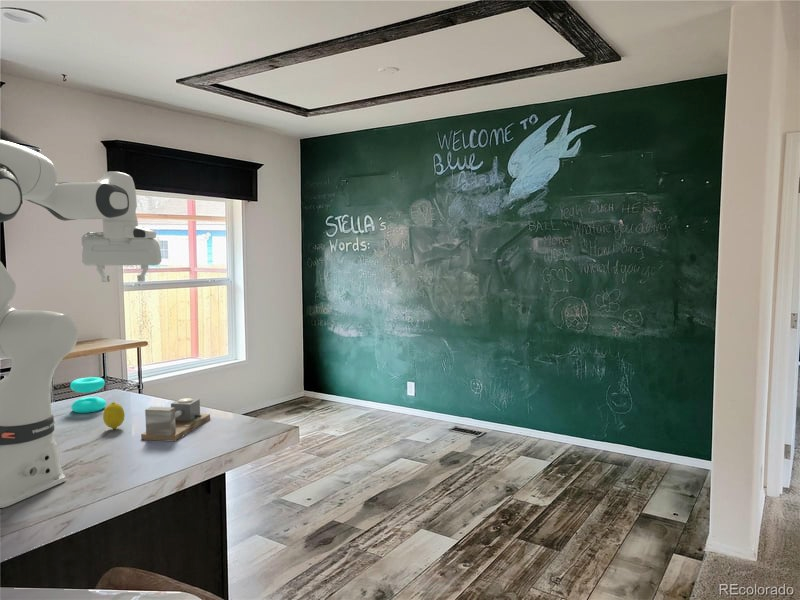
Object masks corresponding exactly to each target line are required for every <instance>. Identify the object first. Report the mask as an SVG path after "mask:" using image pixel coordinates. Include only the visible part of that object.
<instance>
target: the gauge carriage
mask: <svg viewBox="0 0 800 600" xmlns="http://www.w3.org/2000/svg"><path fill="white" fill-rule="evenodd" d="M200 400H201V399H200V398H189V397H188V398H187V397H186V398H179V399H178V400H175V401H173V402H172V403H170V407H172V408H175V420H180V421H191V420H193V419H195V418H196V417H199V418H201V417H202V415H200V414H201V402H200Z"/></svg>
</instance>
